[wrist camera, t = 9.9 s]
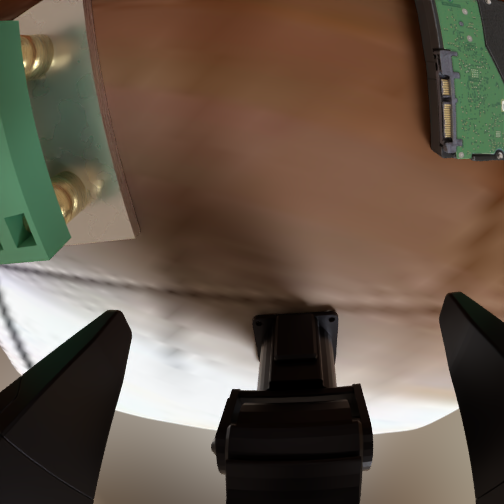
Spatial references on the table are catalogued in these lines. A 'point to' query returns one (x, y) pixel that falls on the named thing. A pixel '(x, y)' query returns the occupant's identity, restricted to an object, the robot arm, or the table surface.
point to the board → (23, 167)
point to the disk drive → (464, 76)
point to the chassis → (75, 121)
